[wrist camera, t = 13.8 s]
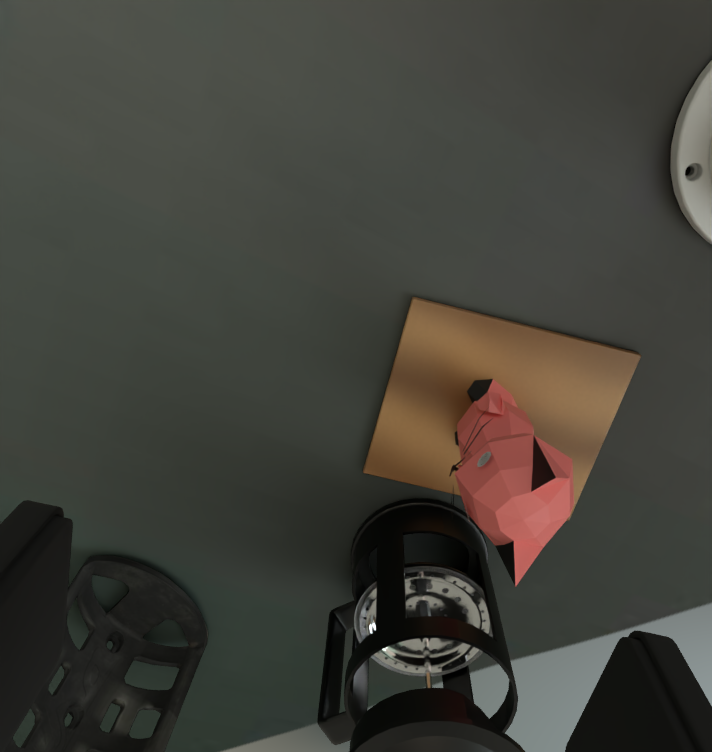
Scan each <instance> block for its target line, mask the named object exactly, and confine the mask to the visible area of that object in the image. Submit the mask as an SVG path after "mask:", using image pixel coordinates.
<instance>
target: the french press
mask: <svg viewBox="0 0 712 752" xmlns="http://www.w3.org/2000/svg"><path fill="white" fill-rule="evenodd" d="M451 513H452V514H451ZM452 516H453V517H452ZM469 521H470V522H469ZM413 533H432V534H437V535H443V536H446V537H449V538H451V539H454V540H456V541H458V542H460V543H461V544H463V545H465V546H467V549H468V551H469V565H468V568H467V571H466V573H463V572H461V571H459V570H457V569H454V568H451V567H449V566H446V565H441V564H435V563H423V562H418V563H408V564H404V545H403V535H406V534H413ZM376 547H377V578H375V576H374V574H373V572H372V570H371V567H370V563H369V556H370V552H371V551H373V550H374V549H375V548H376ZM351 566H352V569H353V578H352V593H353V597H354V601H352V602H349V603H347V604H344V605H342V606H339V607H337V608H335V609H333V610H331V612H330V614H329V622H328V631H327V640H326V649H325V658H324V666H323V675H322V684H321V693H320V702H319V711H318V725H319V727H320V728H321V729H322V731H323V732H324V733H325V734H326V735H327V737H328V738H329V740H330V741H331V742H332V743H333V744H334V745H337V744H341V743H343V742H347V741H349V740H351V741H350V752H525V751H524V750H523V749H522V747H521V746H520V745H519V744H518V743H516V742H515V741H514V740H513V739H512V738H510V737H509V736H508V735H507V734H505V732H506V730H507V729H508V728H509V726H510V725H511V723H512V721H513V718H514V716H515V713H516V711H517V702H518V696H517V689H516V684H515V680H514V675H513V671H512V667H511V662H510V658H509V654H508V649H507V645H506V641H505V636H504V632H503V628H502V624H501V619H500V615H499V611H498V606H497V602H496V598H495V594H494V589H493V585H492V581H491V576H490V572H489V568H488V551H487V545H486V541H485V539H484V536H483V534H482V532H481V530H480V529H479V527H478V526H477V525H476V523H475V522H474V521H473V520H472V519H471V518H470V517H469V520H468V517H467V514H465V513H464V512H463V511H461V510H459V509H458V508H456V507H454V506H452V505H449V504H447V503H444V502H441V501H436V500H430V499H409V500H403V501H398V502H395V503H392V504H390V505H387V506H385V507H383V508H381V509H380V510H378V511H376V512H375V513H374V514H372V515H371V516H370V517H369V518H368V519H367V520H366V521H365V522H364V523H363V525H362V526H361V527H360V528H359V530H358V532H357V534H356V536H355V538H354V540H353V545H352V549H351ZM352 627H354V630H353V646H352V656H351V658H350V660H349V662H348V666H347V670H346V676H345V690H344V704H345V709H346V711H345V712H342V713H339V709H340V696H341V683H342V671H343V658H344V645H345V633H346V631H347V630H348V629H349V628H352ZM492 635H493V638H492ZM483 652H485V653H486V654H488V655H489V656H490V657H491V658H493V659H494V660H495V661H496V662H497V663H499V665H500V666H501V667H502V668H503V670H504V671H505V672H506V674H507V675H508V678H509V690H508V692H507V695H506V698H505V701H504V702H503V704H502V705H501V707H500V708H499V710H498V711H497V712H496V713H495V714H494V715H493V716H492V717H491V718H490V719H489V718H488V717H487V716H486V715H485V714H484V712H483V711H482V710H481V709H480V708H479V707H478V706H476V705H475V704H474V700H473V693H472V687H471V680H470V674H469V667H468V664H470V663H471V662H473V661H474V660H476V659H477V658H478V657H479V656H480V655H481V654H482V653H483ZM370 657H371V658H373V659H374V660H375V661H376V662H378V663H379V664H380V665H382V666H384V667H386V668H388V669H390V670H392V671H395V672H398V673H401V674H406V675H411V676H425V681H426V688H423V689H415V690H409V691H406V692H402V693H398V694H395V695H393V696H391V697H389V698H386V699H384V700H382V701H380V702H379V703H377V704H376V705H375V706H373V707H372V708H370V709H369V710H368V711H367V703H368V670H369V658H370ZM438 675H442V678H443V687H444V688H432V677H431V676H438Z"/></svg>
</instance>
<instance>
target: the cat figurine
mask: <svg viewBox="0 0 712 752" xmlns="http://www.w3.org/2000/svg"><path fill="white" fill-rule="evenodd" d="M467 393H468V395H469V397H470V399H471V401H472V405H471V406H470V408H469V409H468V410H467V412H466V413H465V414H464V416H463V417H462V418H461V420H460V421H459V422H458V423H457V431H456V432H455V443H456V445H457V446H459V451H460V456H461V461H460V462H458V463H457V464H456V465H454V464H453V466H452V468H451V472H450V475H449V476H451V474H452V472H453V471H454V470H455V471H456V472H455V477H456V480H457V483H458V487H459V490H460V493H461V496H462V500H463V503H464V506H465V509H466V513H467V517H468V520H469V516H470V517H471V518H472V519H473V520H474V522H475V523H476V524H477V525H478V527H479V528H480V529H481V530H482V531H483V532H484V533H485V534H486V535H487V537H488V538H489V539H490V540H491V541H492V543H493V544H494V545H495V546H496V548H497V550H498V552H499V554H500V556H501V558H502V560H503V563H504V565H505V567H506V569H507V571H508V573H509V575H510V577H511V579H512V581H513V583H514V585H515V587H516V586H517V584H518V583H519V581H520V580H521V578H522V577H523V576H524V574H525V573H526V571H527V570H528V568H529V567H530V566H531V564H532V563H533V561H534V560H535V559H536V557H537V556H538V554H539V553H540V551H541V550H542V549H543V547H544V546H545V545H546V544H547V542H548V541H549V540H550V539H551V538H552V536H553V535H554V534H555V533H556V532H557V531H558V529H559V528H560V527H561V526H562V525H563V523H564V522H565V521H566V520H567V519H568V518H569V516H570V514H571V511H572V508H573V506H574V486H573V463H572V459H571V458H569V457H568V456H566V455H565V454H563V453H562V452H560V451H558V450H557V449H555V448H554V447H552V446H550V445H549V444H547V443H546V442H544V441H543V440H541V439H539V438H538V437H536V436H535V435H534V429H533V425H532V423H531V422H530V420H529V418H528V416H527V414H526V412H525V411H523V410H521V409H519V408H518V406H517V404H516V402H515V400H514V399H513V397H512V395H511V394H510V393H509V392H508V391H507V390H506V389H504V388H503V387H502V386H501V385H500V384H498V383H497V382H496V381H495V380H494V379H485V380H475V381H474V382H473V383H472V385H471V386H470V388H469V389H468V390H467ZM461 462H462V465H458V464H460V463H461ZM457 465H458V468H457V467H456V466H457ZM452 493H453V504H454V489H453V490H452ZM451 505H452V501H451ZM451 514H452V513H451ZM468 514H469V516H468ZM452 517H453V516H452ZM469 522H470V521H469Z"/></svg>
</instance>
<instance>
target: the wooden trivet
mask: <svg viewBox="0 0 712 752" xmlns="http://www.w3.org/2000/svg"><path fill="white" fill-rule="evenodd" d="M640 357H641V355H640V354H639V353H638V352H633V351H629V350H625V349H621V348H617V347H613V346H609V345H605V344H601V343H597V342H593V341H589V340H585V339H581V338H577V337H573V336H569V335H565V334H561V333H557V332H553V331H549V330H545V329H541V328H537V327H533V326H529V325H525V324H521V323H517V322H513V321H509V320H505V319H501V318H497V317H493V316H489V315H485V314H481V313H477V312H473V311H469V310H465V309H461V308H457V307H453V306H449V305H445V304H441V303H437V302H433V301H429V300H425V299H421V298H417V297H412V299H411V303H410V306H409V310H408V314H407V317H406V321H405V324H404V328H403V331H402V335H401V338H400V342H399V345H398V349H397V352H396V356H395V359H394V363H393V366H392V370H391V373H390V377H389V380H388V384H387V387H386V391H385V394H384V398H383V401H382V405H381V409H380V412H379V416H378V419H377V423H376V426H375V430H374V433H373V437H372V440H371V444H370V447H369V451H368V454H367V458H366V461H365V465H364V468H363V473H366V474H371V475H375V476H379V477H383V478H388V479H392V480H396V481H400V482H405V483H409V484H413V485H417V486H422V487H426V488H430V489H435V490H439V491H443V492H447V493H452V490H453V489H454V494H456V495H460V496H461V493H460V490H459V487H458V483H457V480H456V477H455V472H456V471H455V470H454V471H453V472H452V474H451V476H449V475H450V472H451V468H452V466H453V464H454V465H456V464H457V463H458V462H460V461H461V456H460V451H459V446H457V445H456V443H455V432H456V431H457V423H458V422H459V421H460V420H461V418H462V417H463V416H464V414H465V413H466V412H467V410H468V409H469V408H470V406H471V405H472V401H471V399H470V397H469V395H468V393H467V390H468V389H469V388H470V386H471V385H472V383H473V382H474V381H475V380H485V379H494V380H495V381H496V382H497V383H498V384H500V385H501V386H502V387H503V388H504V389H506V390H507V391H508V392H509V393H510V394H511V395H512V397H513V399H514V400H515V402H516V404H517V406H518V408H519V409H521V410H523V411H525V412H526V414H527V416H528V418H529V420H530V422H531V423H532V425H533V429H534V435H535V436H536V437H538V438H539V439H541V440H543V441H544V442H546V443H547V444H549V445H550V446H552V447H554V448H555V449H557V450H558V451H560V452H562V453H563V454H565V455H566V456H568V457H569V458H571V459H572V463H573V486H574V506H573V508H572V511H571V514H570V516H569V518H568V519H567V521H569V519H570V517H571V515H572V512H573V510H574V508H575V505H576V503H577V501H578V499H579V496H580V494H581V492H582V490H583V487H584V485H585V483H586V480H587V478H588V476H589V474H590V471H591V469H592V467H593V464H594V462H595V460H596V458H597V455H598V453H599V451H600V449H601V446H602V444H603V442H604V439H605V437H606V435H607V433H608V430H609V428H610V426H611V424H612V421H613V419H614V417H615V414H616V412H617V410H618V408H619V405H620V403H621V401H622V398H623V396H624V394H625V392H626V389H627V387H628V385H629V383H630V380H631V378H632V376H633V373H634V371H635V369H636V367H637V364H638V362H639V360H640ZM458 465H462V462H461V463H460V464H458ZM458 465H457V466H456V467H457V468H458ZM452 494H453V493H452Z"/></svg>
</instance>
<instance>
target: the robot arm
mask: <svg viewBox="0 0 712 752" xmlns="http://www.w3.org/2000/svg"><path fill="white" fill-rule="evenodd" d="M688 166H689V167H690V169H691V171H690V173H689V174H688V175H687V176H685V171H686V169H687V167H688ZM670 171H671V177H672V183H673V189H674V193H675V196H676V198H677V201H678V204H679V206H680V209H681V211H682V213H683V214H684V216H685V217H686V219H687V220H688V222H689V223H690V225H691V226H692V228H693V229H694V230H695V231H696V232H697V233H699V234H700V235H701V236H702V237H703V238H704V239H705V240H706V241H707V242H708V243H710V244H712V60H711V61H710V63H709V64H708V65H707V66H706V67H705V69H704V70H703V71H702V72H701V73H700V75H699V77H698V78H697V80H696V82H695V83H694V85H693V87H692V88H691V90H690V92H689V93H688V95H687V97H686V99H685V101H684V104H683V106H682V109H681V111H680V114H679V116H678V119H677V121H676V126H675V130H674V135H673V140H672V144H671V164H670ZM72 529H73V522H72V520H71V519H68V518H64V513H63V510H62V508H60V507H57V506H52V505H47V504H42V503H38V502H33V501H28V500H26V501H23V502H22V503H21V504H19V505H18V506H17V507H16V509H15V510H14V511H13V512H12V513H11V514H10V515H9V516H8V517H7V518H6V519H5V520H4V521H3V522H2V523H1V524H0V752H4V751H5V749H6V747H7V746H8V744H9V743H10V741H11V739H12V738H13V736H14V734H15V733H16V731H17V729H18V728H19V726H20V724H21V723H22V721H23V719H24V718H25V716H26V714H27V713H28V711H29V709H30V708H31V706H32V704H33V703H34V701H35V699H36V698H37V696H38V694H39V693H40V691H41V689H42V688H43V686H44V684H45V683H46V681H47V680H48V678H49V676H50V675H51V673H52V671H53V670H54V668H55V666H56V664H57V662H58V660H59V658H60V655H61V652H62V649H63V644H64V634H65V621H66V608H67V595H68V582H69V569H70V555H71V542H72ZM565 752H712V706H711V705H710V703H709V701H708V699H707V698H706V696H705V694H704V692H703V690H702V689H701V687H700V685H699V683H698V682H697V680H696V678H695V677H694V675H693V673H692V671H691V669H690V668H689V666H688V664H687V662H686V661H685V659H684V657H683V655H682V653H681V652H680V650H679V648H678V646H677V645H676V643H675V642H674V641H673V640H672V639H671V638H669V637H666V636H661V635H656V634H652V633H646V632H642V631H634V632H632V633H630V635H629V636H628V637H622V638H621V639H620V640H619V642H618V643H617V645H616V647H615V649H614V651H613V653H612V655H611V657H610V659H609V661H608V663H607V665H606V667H605V669H604V671H603V673H602V675H601V677H600V679H599V681H598V683H597V685H596V687H595V689H594V691H593V693H592V695H591V697H590V699H589V701H588V703H587V705H586V707H585V709H584V711H583V713H582V715H581V717H580V719H579V721H578V723H577V725H576V728H575V729H574V731H573V733H572V735H571V737H570V740H569V741H568V743H567V746H566V750H565Z"/></svg>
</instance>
